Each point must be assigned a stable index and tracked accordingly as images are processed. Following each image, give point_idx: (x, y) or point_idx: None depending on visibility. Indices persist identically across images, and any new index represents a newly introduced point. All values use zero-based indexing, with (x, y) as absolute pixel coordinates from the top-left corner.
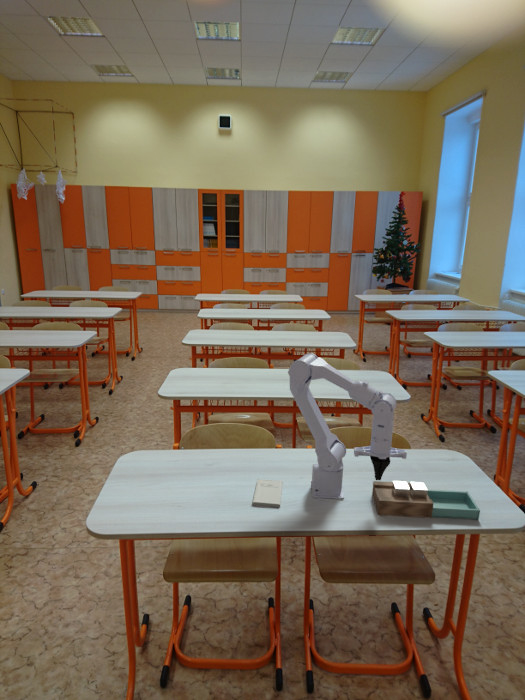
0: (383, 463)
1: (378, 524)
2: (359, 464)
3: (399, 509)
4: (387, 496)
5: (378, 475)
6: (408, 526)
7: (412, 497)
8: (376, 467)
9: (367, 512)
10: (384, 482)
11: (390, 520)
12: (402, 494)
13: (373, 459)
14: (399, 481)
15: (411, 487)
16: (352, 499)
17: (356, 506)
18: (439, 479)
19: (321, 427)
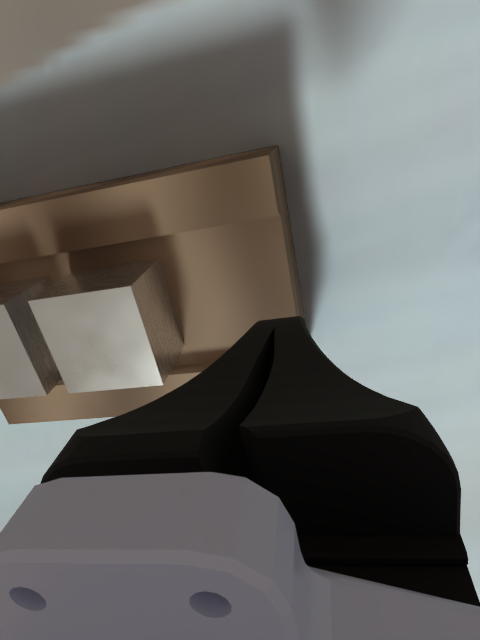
0: (181, 427)
1: (277, 24)
2: None
3: (134, 177)
4: (210, 258)
5: (278, 336)
6: (86, 72)
7: (45, 279)
8: (316, 381)
9: (348, 154)
10: None
11: (198, 105)
12: (99, 275)
13: (401, 519)
14: (115, 385)
15: (36, 343)
16: (439, 275)
17: (420, 204)
18: (12, 501)
19: None
